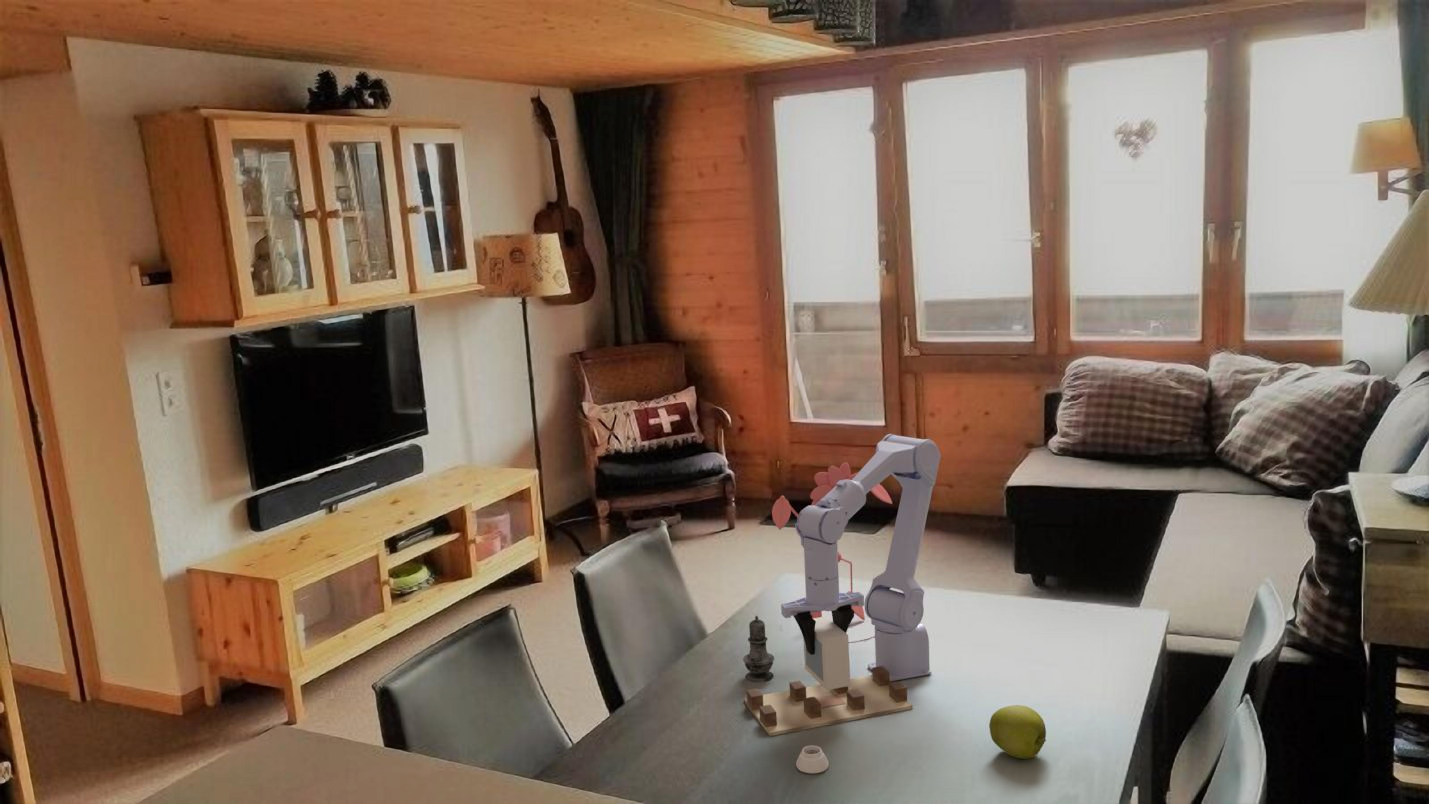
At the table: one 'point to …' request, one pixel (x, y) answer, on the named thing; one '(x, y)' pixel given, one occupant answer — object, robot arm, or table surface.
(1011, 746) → the apple
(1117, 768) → the table surface
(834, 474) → the pink flower cutout
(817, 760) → the lidless jar
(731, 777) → the table surface
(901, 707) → the notch rack
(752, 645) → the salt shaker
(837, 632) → the tall beige pillar block
